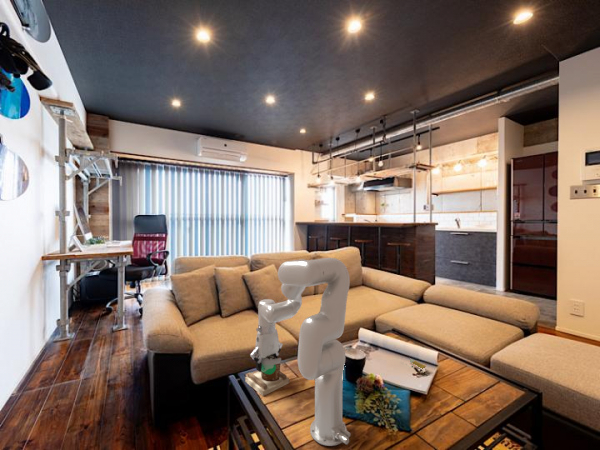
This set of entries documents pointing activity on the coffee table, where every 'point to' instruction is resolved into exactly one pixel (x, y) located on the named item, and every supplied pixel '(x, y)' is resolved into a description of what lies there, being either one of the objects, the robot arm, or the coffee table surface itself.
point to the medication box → (417, 364)
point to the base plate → (265, 383)
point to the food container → (270, 368)
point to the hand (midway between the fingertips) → (267, 367)
